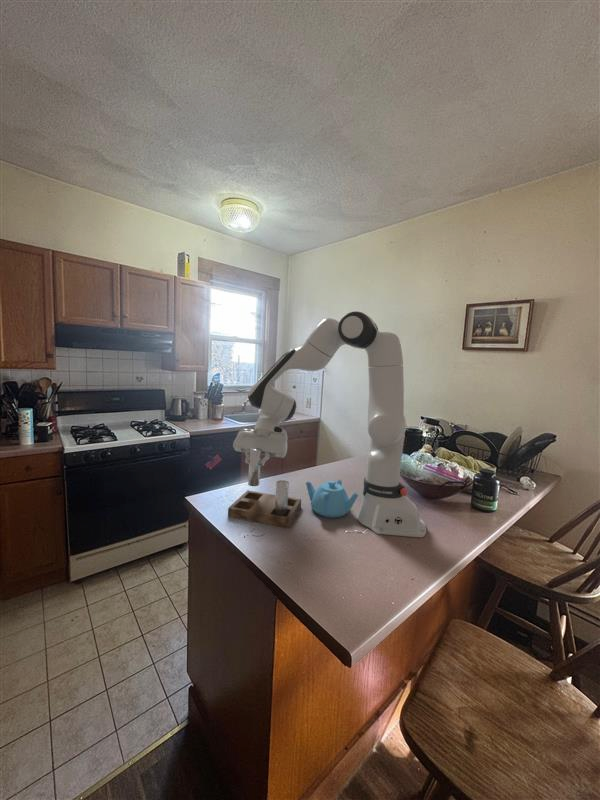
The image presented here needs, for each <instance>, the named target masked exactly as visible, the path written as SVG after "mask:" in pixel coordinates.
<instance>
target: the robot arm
mask: <svg viewBox="0 0 600 800" xmlns="http://www.w3.org/2000/svg"><path fill="white" fill-rule="evenodd" d="M344 345H347V346H350V347H352V348H356V349H360V350H361V349H364V350H365V351H366V354H367V361H368V363H367V364H368V367H367V368H368V393H369V394H368V406H367V432H368V435H369V437H370V441H369V448H368V453H367V459H366V471H365V477H364V479H363V484H362V485H363V486H362V501H361V504H360V508H359V510H358V513H357V516H356V519H357V520H358V522H359V523H361V525H363V526H365V527H366V528H369V529H370V530H372V532H374V533H375V534H377V535H387V536H397V537H398V536H400V537H410V538H412V537H413V538H423V537H425V536H426V535H427V527H426V523H425V522H424V520H423V519H422V518H421V517H420V511H419V509H418V507H417V505H416V504H415V503H414V502H413V501H412V500H411V499H410V498H409V497H408V496H407V495H408V491H407V489H406V487H405V486H404V483H403V482H400V478H401V477H400V476H401V475H400V474H401V468H402V467H401V465H402V459H403V458H402V457H403V449H404V441H405V432H406V420H407V419H406V417H405V413H404V410H405V406H404V404H405V403H404V402H405V400H404V399H405V397H404V396H405V395H404V392H405V389H404V388H405V385H404V384H405V383H404V382H405V381H404V361H403V360H404V357H403V351H402V345H401V340H400V338H399V336H398V335H397V334H396V333H392V332H389V331H379V328H378V326H377V324H376V323H375V321H374V320H373V318H371V317H370V316H369V315H367V314H365V313H364V312H362V311H355V310H354V311H351V312H350V311H349V312H348V313H346V314H345V315H343V316H342V317H341V318H340V320H339V321H338V320H336V319H334V318H330V317H329V318H323V320H321V322H319V324H317V326H316V327H315V328H314V329H313V330H312V332H311V333H310V334H309V336H308V337H307V339H306V340H305V342H304V343H302V345H300V346H298V347H296V348H289V349H288V350H287V351H286V352H285V353H284V354H283V355H282V356H281V357H280V358H279V359H278V360H277V361H276V362H275V363H274V364H273V365H272V367H270V368H269V369H268V370H267V372H266V373H265V374H264V375H263V376H262V377H261V378H260V379H259V380H258V381H256V382H255V383H254V384H253V386H251V388H250V390H249V392H248V395H247V397H248V401H249V403H250V406H251V407H253V408H256V409H259V410H260V411H259V417H258V419H257V420H256V421H255V422H256V423H255V425H254V428H253V429H247V428H243V429H241V430H239V431H238V433H237V435H236V437H235V439H234V440H233V442H232V447H233V449H234V451H235V452H241V453H244V455H245V459H244V462H245V464H249V459H250V449H251V448H260V449H261V456H264V457H263V458H261V459H260V462H259V464H260V466H265V463H266V462H267V461H269V459H270V458H271V457H275V458H281V459H282V458H285V457H286V456H287V453H288V433H287V431H286V429H285V428H283V427H280V423H285V422H287V421H290V420H292V418H293V417H294V415H295V412H296V410H297V402H296V398H294V397H292V396H291V395H289V394H287V393H285V392H283V391H282V390H280V389H278V388H276V387H274V386H273V384H274V383H275V382H276V381H277V380H278V379H279V378H280V377H281V376H282V375H283V374H284V373H285V372H286V371H288V370H301V371H306V372H317V371H320V370H323V369H324V368H325V367H326V366H327V365H328V364H329V363H330V362H331V360H332V358H333V357H335V354H336V353H337V351H338V350H339V349H340V348H341V347H342V346H344Z"/></svg>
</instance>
